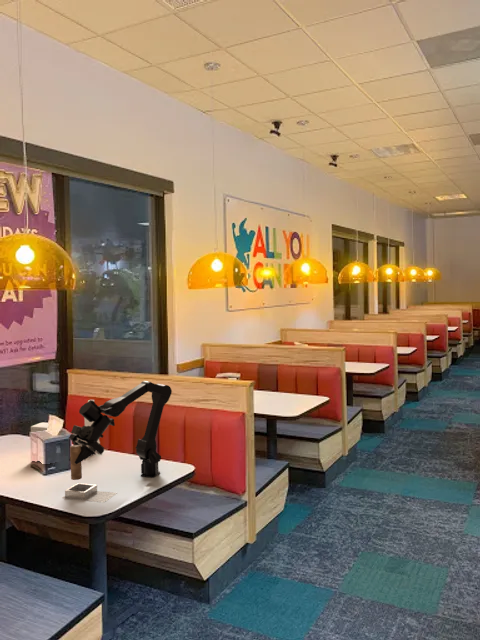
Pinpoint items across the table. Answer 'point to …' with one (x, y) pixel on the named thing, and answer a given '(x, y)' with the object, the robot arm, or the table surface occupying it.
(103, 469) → the table surface
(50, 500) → the table surface
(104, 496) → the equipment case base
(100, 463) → the table surface
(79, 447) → the stay rod
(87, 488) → the beige square tray
